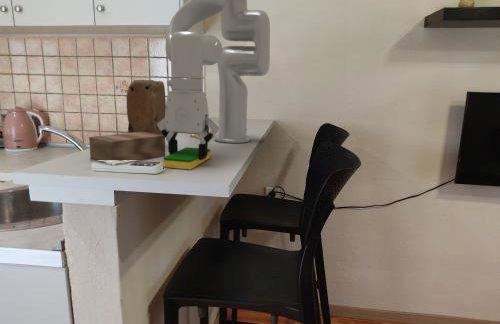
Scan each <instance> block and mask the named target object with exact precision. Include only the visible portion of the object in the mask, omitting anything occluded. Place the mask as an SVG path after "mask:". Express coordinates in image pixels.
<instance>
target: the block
mask: <svg viewBox="0 0 500 324" xmlns="http://www.w3.org/2000/svg"><path fill="white" fill-rule="evenodd" d="M166 101H167V97H166V88H165V83H164V81H161V80H154V79H153V80H152V79H148V80H145V79H134V80H132V82H130V83H129V85H128V88H127V93H126V114H127V121H128V124H127V125H128V126H127V133H132V132H141V131H143V132H148V133H154V134H160V135H163V134H162V131H161V130H160V129H159V127H158V126H157V124H158V123H159V122H160V121H161V120H162V119H164V118H165V109H166Z"/></svg>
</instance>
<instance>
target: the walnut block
mask: <svg viewBox="0 0 500 324" xmlns="http://www.w3.org/2000/svg"><path fill="white" fill-rule="evenodd" d="M88 139H89V154H90V155H89V157H90V160H93V161H96V160H140V161H146V160H151V159H156V158H162V157H163V158H164V157H166V137H165V136H164V135H160V134H154V133H148V132H143V131H141V132H132V133H128V132H124V133H115V134H105V135H103V134H102V135H96V136H89V137H88Z"/></svg>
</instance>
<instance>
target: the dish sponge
mask: <svg viewBox="0 0 500 324" xmlns="http://www.w3.org/2000/svg"><path fill="white" fill-rule="evenodd" d="M210 158H211V149H209V148H208V154H207V156H206V158H205V159H203V160H199V147H188V146H186V147H184V148H182V149H179V150H178V151H177V152H175V153H173V154H170V155H169V154H168V155H165V156H163V161H162V162H164V163H163V166H164V165H165V167H164V168H170V169H180V170H193V169H194V168H195V167H197V166H198V165H201V164H202V163H204V162H205V161H208V159H210Z"/></svg>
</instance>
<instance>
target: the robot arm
mask: <svg viewBox="0 0 500 324" xmlns="http://www.w3.org/2000/svg"><path fill="white" fill-rule="evenodd" d="M247 2H248V1H247V0H187V1H186V2H185V3H183V5H181V7H179V9H178V10H177V11H176V12H175V14H174V15H173V17H172V18H171V20H170V22H169V26H168V30H167V35H166V40H165V54H166V57H167V60H168V61H169V62H170V65H171V66H170V68H171V69H170V72H171V75H170V76H171V77H170V79H168V80H166V85H167V86H169V87H170V89H171V90H168V91H167V96H166V109H165V118H164V119H162V120H161V121H160V122H159V123H158V124H157V126H158V127H159V129H160V130H161V131H162V134H163V135H164V136H165V141H166V142H167V143H168V144H167V145H168V146H167V147H168V148H167V151H168V153H169V154H168V155H170V154H173V153H175V152H177V151H179V150H178V139H177V136H178V134H185V135H187V134H189V135H196V136H197V137H198V140H199V142H200V143H198V148H199V160H203V159H205V158H206V156H207V154H208V149H209V148H208V145H209V144H208V143H209V142H210V141H211V140H213V139H214V141H215V142H219V143H225V144H226V143H227V144H231V143H232V144H241V143H249V142H251V138H252V137H251V136H248V135H247V130H248V129H247V127H248V126H247V121H248V120H247V119H248V118H247V117H248V116H247V115H248V88H247V84H246V83H245V82H244V80H243V79H242V76H243V77H245V76H249V77H253V76H254V77H261V76H262V77H264V76H266V75H267V74H268V72H269V70H270V65H271V64H270V62H271V60H270V59H271V55H270V53H271V24H270V18H269V15H268V14H267V12H265V11H264V10H259V9H248V3H247ZM219 13H220V32H221V37H222V38H223V39H224V40H225V41H228V42H244V43H245V42H249V43H250V42H251V43H254V45H227V46H224V47H223V45H222V43H221V41H220V39H219V38H218V37H216V36H215V35H212V34H200V33H199V32H196V31H189V30H190V29H191V28H192V27H193V26H195V25H197V24H199V23H201V22H202V21H204V20H207V19H209V18H211V17H213V16H216V15H217V14H219ZM215 64H217V70H218V79H219V80H218V82H219V93H218V94H219V100H218V101H219V103H218V105H219V108H218V109H219V111H218V112H219V113H218V114H219V115H218V117H219V118H218V125H217V124H216V123H215V122H214V121H213V120H211V119H210V116H209V104H208V99H207V95H206V92H205V91H204V66H213V65H215ZM209 128H210V131H209V132H208V130H209ZM207 132H208V133H207ZM217 133H218V134H217ZM216 134H217V135H216Z"/></svg>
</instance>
